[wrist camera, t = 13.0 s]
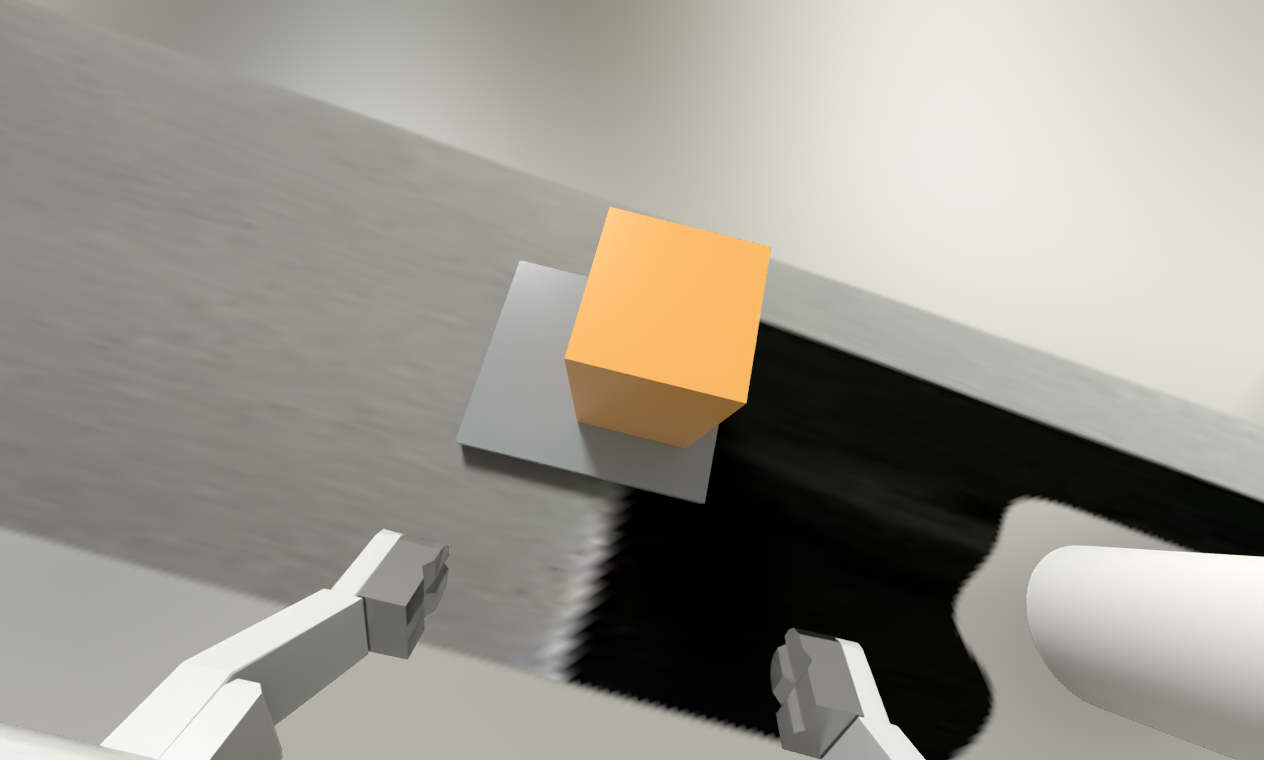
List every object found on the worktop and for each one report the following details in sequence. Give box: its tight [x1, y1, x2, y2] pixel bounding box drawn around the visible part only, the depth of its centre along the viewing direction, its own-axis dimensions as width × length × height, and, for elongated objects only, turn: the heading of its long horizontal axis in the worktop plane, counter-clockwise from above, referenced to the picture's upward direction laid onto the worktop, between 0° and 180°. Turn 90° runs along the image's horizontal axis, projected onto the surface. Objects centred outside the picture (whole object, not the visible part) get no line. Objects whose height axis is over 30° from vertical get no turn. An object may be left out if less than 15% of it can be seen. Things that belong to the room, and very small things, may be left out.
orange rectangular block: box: [564, 207, 771, 448], centre depth 18 cm, size 5×5×9 cm
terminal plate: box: [455, 260, 719, 504], centre depth 23 cm, size 12×10×1 cm
